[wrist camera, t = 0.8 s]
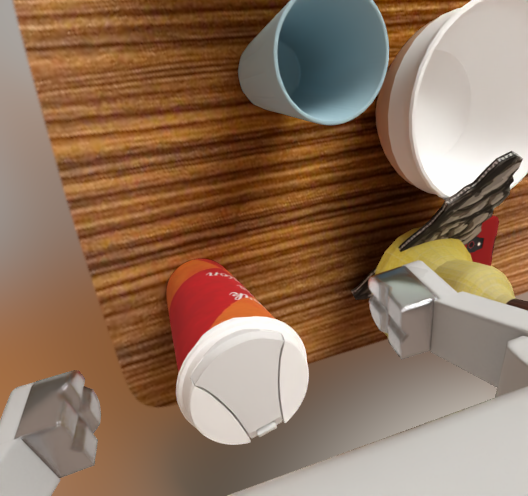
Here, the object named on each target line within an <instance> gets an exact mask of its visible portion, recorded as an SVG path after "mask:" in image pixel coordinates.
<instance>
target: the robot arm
mask: <svg viewBox="0 0 528 496" xmlns="http://www.w3.org/2000/svg"><path fill="white" fill-rule="evenodd" d="M368 288H369V289H370V291H371V292H372V293H373V294H372V296H371V297H370V299H369V307H370V311H371V315H372V318H373V320H374V322H375V324H376V325H377V327H378V328H379V330H380V331H382V332H384V333H387V334H388V341H389V343H390V345H391V346H392V347H393V349H394V350H395V352H396V353H397V354H398V356H399V357H400V358H401V359H405V358H408V357H411V356H414V355H417V354H421V353H424V352H427V351H430V350H431V352H432V353H433V354H435V355H437V356H439V357H441V358H443V359H445V360H447V361H448V362H451V363H452V364H454V365H456V366H458V367H460V368H461V369H463V370H465V371H467V372H469V373H471V374H473V375H474V376H476V377H478V378H480V379H482V380H484V381H486V382H488V383H490V384H491V385H493V386H495V387H497V391H496V395H495V398H493V399H490V400H488V401H485V402H482V403H479V404H477V405H474V406H471V407H468V408H466V409H463V410H461V411H457V412H455V413H452V414H449V415H446V416H444V417H441V418H438V419H436V420H433V421H430V422H427V423H424V424H422V425H419V426H416V427H414V428H411V429H408V430H406V431H403V432H400V433H397V434H395V435H392V436H389V437H386V438H384V439H381V440H378V441H376V442H373V443H370V444H367V445H364V446H362V447H359V448H356V449H353V450H351V451H348V452H346V453H343V454H340V455H337V456H335V457H332V458H329V459H326V460H323V461H321V462H318V463H315V464H312V465H310V466H307V467H304V468H302V469H299V470H296V471H293V472H291V473H288V474H285V475H282V476H280V477H277V478H274V479H271V480H269V481H266V482H263V483H261V484H258V485H255V486H252V487H250V488H247V489H244V490H241V491H239V492H236V493H233V494H230V495H228V496H528V311H527V310H524V309H520V308H517V307H514V306H510V305H507V304H504V303H500V302H497V301H494V300H490V299H487V298H484V297H480V296H477V295H473V294H470V293H467V292H463V291H462V292H459V293H457V292H456V291H455V290H454V289H453V288H452V287H451V286H450V285H448V284H447V283H446V282H445V281H444V280H443V279H442V278H441V277H439V276H438V275H437V274H436V273H435V272H434V271H433V270H432V269H430V268H429V267H428V266H427V265H426V264H425V263H424V262H423V261H420V260H417V261H414V262H411V263H408V264H405V265H402V266H400V267H397V268H394V269H391V270H388V271H385V272H382V273H379V274H376V275H373V276H369V279H368ZM84 381H85V378H84V377H83V375H82V374H81V373H80V372H79V371H77V370H74V371H70V372H67V373H63V374H60V375H56V376H53V377H50V378H47V379H43V380H40V381H36V382H34V383H31V384H28V385H24V386H20V387H17V388H16V389H14V390H13V391H12V392H11V394H10V397H9V399H8V402H7V405H6V407H5V409H4V412H3V415H2V417H1V420H0V496H51V495H52V493H53V492H54V490H55V488H56V487H57V485H58V483H59V482H60V479H59V478H61V477H64V476H67V475H69V474H72V473H75V472H77V471H80V470H83V469H85V468H88V467H91V466H93V465H94V464H95V456H96V449H97V441H98V440H97V439H96V437H95V436H94V435H93V433H94V432H95V430H96V429H97V428H98V426H99V425H100V418H101V411H100V403H99V401H98V398H97V396H96V394H95V392H94V391H93V389H90V388H87V387H85V386H84Z"/></svg>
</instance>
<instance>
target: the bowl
mask: <svg viewBox="0 0 528 496" xmlns="http://www.w3.org/2000/svg"><path fill="white" fill-rule="evenodd" d="M376 127H377V131H378V136H379V138H380V143H381V146H382V148H383V150H384V153H385V155H386V157H387V159H388V160H389V162H390V163H391V165H392V166H393V168H394V169H395V170H396V172H397V173H398V174H399V175H400V176H401V177H402V178H403V179H404V180H405V181H406V182H408V183H410V184H412V185H414V186H416V187H417V188H419V189H421V190H423V191H425V192H427V193H431V194H436V195H438V196H439V197H441V198H443V199H444V200H446V199H448V198H449V197H451V196H452V195H454V194H456V193H457V192H458V191H460V190H461V189H462V188H463V187H464V186H466V185H468V184H470V183H472V182H474V180H475V179H476V178H477V177H478V176H479V175H480V174H481V173H482V172H483V171H484V170H485V169H486V168H487V167H488V166H489V165H490V164H491V163H492V162H493V161H494V160H495V159H496V158H498V157H500V156H502V155H504V154H506V153H508V152H510V151H513V152H515V153H517V154H518V155H519V156H521V157H522V158H523V160H522V162H521V164H520V167H519V168H518V170H517V171H516V172H515V173H514V175H513V179H514V182H513V183H512V184H511V185H510V189H512V188H513V187H514V186H515V185H517V184H518V183H519V182H520V181H521V180H522V179H523V178H524V177H525V175H526V174H527V173H528V0H471V1H470V2H469V3H467V4H466V5H464V6H463V7H462V8H458V9H455V10H453V11H450V12H448V13H446V14H443V15H441V16H440V17H438V18H437V19H435V20H433V21H431V22H429V23H428V24H427V25H425V26H424V27H422V28H421V29H420V30H418V31H417V32H416V33H415V34H414V35H413V36H412V37H411V38H410V39H409V40H408V41H407V43H406V44H405V45H404V46H403V47H402V49H401V50H400V52H399V53H398V54H397V56H396V58H395V59H394V61H393V62H392V64H391V65H390V67H389V69H388V72H387V74H386V76H385V79H384V82H383V84H382V87H381V89H380V91H379V95H378V99H377V105H376Z"/></svg>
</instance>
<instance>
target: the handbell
mask: <svg viewBox="0 0 528 496" xmlns="http://www.w3.org/2000/svg"><path fill="white" fill-rule="evenodd" d="M420 228H421V227H419V228H414V229H412V230H410V231H408V232H407V233H405V234H403V235H401V236H399V237H398V238H397V239H396V240H395V241H394V242H393V243H392V244H391V246H390V247H389V248H388V249H387V250H386V251H385V252H384V254H383V256H382V258H381V260H380V262H379V264H378V266H377V268H376V271H375V275H376V274H379V273H382V272H385V271H388V270H391V269H394V268H397V267H400V266H402V265H405V264H408V263H411V262H414V261H417V260H420V261H423V262H424V263H425V264H426V265H427V266H428V267H429V268H430V269H432V270H433V271H434V272H435V273H436V274H437V275H438V276H439V277H441V278H442V279H443V280H444V281H445V282H446V283H447V284H448V285H450V286H451V287H452V288H453V289H454V290H455V291H456V292H457V293H459V292H462V291H463V292H467V293H470V294H473V295H477V296H480V297H484V298H487V299H490V300H494V301H497V302H500V303H504V304H507V305H510V306H514V307H517V308H520V309H524V310H527V311H528V301H523V300H519V299H516V298H515V297H514V292H513V289H512V286H511V284H510V282H509V281H508V279H507V278H506V276H505V275H504V274H503V273H502V272H500V271H499V270H498V269H496V268H494V267H492V266H488V265H485V264H481V263H476V262H473V261H472V258H471V255H470V253H469V252H468V250H467V249H466V247H465V246H464V244H463V243H462V241H460V240H459V239H452V238H450V239H439V240H434V241H430V242H426V243H423V244H420V245H417V246H414V247H411V248H409V249H407V250H404V251H402V252H400V250H399V248H398V247H399V246H400V245H401V244H402V243H403V242H404V241H405V240H406V239H408V238H409V237H410V236H411V235H412V234H414V233H415V232H416V231H417V230H419V229H420ZM372 294H373V293H372ZM385 334H386V336H387V337H388V334H387V333H385Z"/></svg>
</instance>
